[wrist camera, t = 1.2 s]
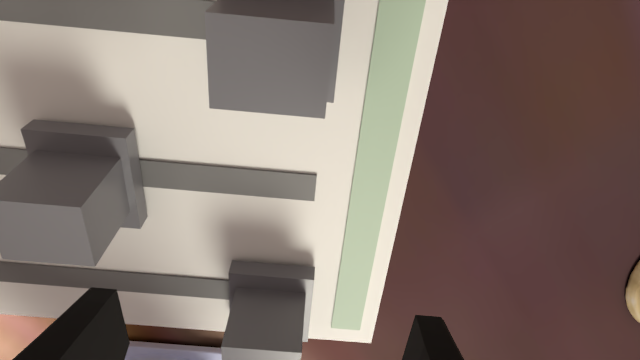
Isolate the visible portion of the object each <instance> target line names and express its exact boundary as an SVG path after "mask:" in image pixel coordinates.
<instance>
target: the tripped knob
mask: <svg viewBox="0 0 640 360" xmlns="http://www.w3.org/2000/svg"><path fill="white" fill-rule="evenodd" d="M20 130H21V133H22V136H23V140H24V143H25V146H26V150H27V153H28V157H27V158H26V159H25V160H23V161H22V162H21V163H20V164H19V165H18V166H17V167H15V168H14V169H13V170H12V171H11V172H10V173H8V174H7V175H6V176H5V177H4V178H3V179H2V180H0V254H1V257H2V259H6V260H19V261H31V262H43V263H55V264H68V265H80V266H92V267H95V266H96V265H97V263H98V262H99V260H100V259H101V257H102V255H103V254H104V252H105V251H106V249H107V248H108V246H109V244H110V243H111V241H112V240H113V238H114V237H115V235H116V233H117V232H118V230H119V229H120V227H122V228H134V229H141V227H142V226H143V224H144V222H145V220H146V219H147V217H148V216H147V209H146V202H145V195H144V189H143V182H142V175H141V169H140V162H139V155H138V149H137V142H136V135H135V128H126V127H114V126H103V125H92V124H80V123H69V122H58V121H47V120H35V119H33V120H32V121H31V122H29V123H28V124H27V125H25V126H24V127H23V128H21V129H20Z"/></svg>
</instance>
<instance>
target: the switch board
mask: <svg viewBox="0 0 640 360" xmlns="http://www.w3.org/2000/svg"><path fill="white" fill-rule="evenodd" d="M216 1H217V0H0V180H2V179H3V178H4V177H5V176H6V175H7V174H8V173H10V172H11V171H12V170H13V169H14V168H15V167H17V166H18V165H19V164H20V163H21V162H22V161H23V160H25V159H26V158H27V157H28V153H27V150H26V146H25V143H24V140H23V136H22V133H21V130H20V129H21V128H23V127H24V126H25V125H27V124H28V123H29V122H31V121H32V120H33V119H35V120H47V121H58V122H69V123H80V124H92V125H103V126H114V127H126V128H135V135H136V142H137V149H138V155H139V162H140V169H141V175H142V182H143V189H144V195H145V202H146V209H147V216H148V217H147V219H146V220H145V222H144V224H143V226H142V227H141V229H134V228H122V227H120V229H119V230H118V232H117V233H116V235H115V237H114V238H113V240H112V241H111V243H110V244H109V246H108V248H107V249H106V251H105V252H104V254H103V255H102V257H101V259H100V260H99V262H98V263H97V265H96V266H95V267H92V266H80V265H68V264H55V263H43V262H31V261H19V260H6V259H2V257H1V254H0V314H7V315H20V316H32V317H45V318H59V317H60V316H61V315H62V314H63V313H64V312H65V311H66V310H67V309H68V308H69V307H70V306H71V305H72V304H73V303H74V302H75V301H77V300H78V299H79V298H80V297H81V296H82V295H83V294H84V293H85V292H86V291H87V290H88V289H90V288H91V287H95V288H106V289H117V292H118V296H119V301H120V305H121V309H122V313H123V317H124V321H125V324H134V325H147V326H160V327H172V328H185V329H198V330H211V331H223V332H225V329H226V325H227V321H228V317H229V313H230V307H229V275H228V273H229V269H230V266H231V262H232V260H237V261H249V262H262V263H274V264H286V265H298V266H310V267H315V276H314V287H313V296H312V305H311V315H310V324H309V333H308V338H313V339H325V340H338V341H351V342H364V343H371V341H372V336H373V332H374V328H375V323H376V319H377V314H378V310H379V305H380V301H381V297H382V292H383V288H384V283H385V279H386V274H387V270H388V266H389V261H390V257H391V252H392V248H393V243H394V239H395V235H396V230H397V226H398V221H399V217H400V212H401V208H402V203H403V199H404V195H405V190H406V186H407V181H408V177H409V172H410V168H411V164H412V159H413V155H414V150H415V146H416V141H417V137H418V133H419V128H420V124H421V119H422V115H423V110H424V106H425V101H426V97H427V93H428V88H429V84H430V79H431V75H432V70H433V66H434V62H435V57H436V53H437V48H438V44H439V39H440V35H441V31H442V26H443V22H444V17H445V13H446V8H447V4H448V0H345V3H344V12H343V21H342V30H341V40H340V49H339V58H338V67H337V76H336V85H335V95H334V103H329V102H327V104H326V114H325V119H322V118H311V117H300V116H289V115H278V114H266V113H255V112H244V111H233V110H222V109H211V108H209V91H208V70H207V50H206V30H205V11H206V10H207V9H208V8H209V7H210V6H212V5H213V4H214V3H215V2H216Z"/></svg>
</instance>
